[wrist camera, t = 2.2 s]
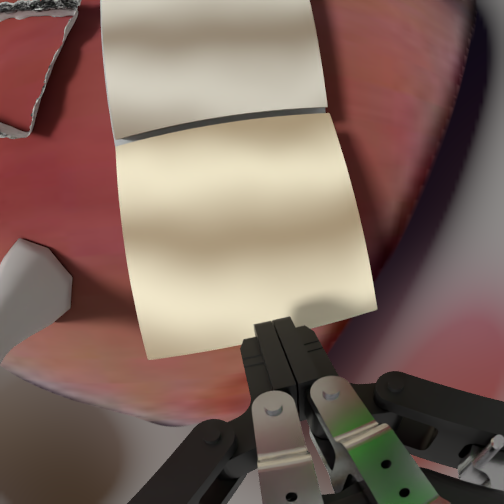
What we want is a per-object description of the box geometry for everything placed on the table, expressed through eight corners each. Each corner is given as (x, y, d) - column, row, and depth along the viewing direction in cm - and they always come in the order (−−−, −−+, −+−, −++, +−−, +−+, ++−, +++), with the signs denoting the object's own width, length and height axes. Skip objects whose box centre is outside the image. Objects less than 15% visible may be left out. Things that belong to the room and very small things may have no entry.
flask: (59, 333, 21) (19, 422, 12) (-4, 288, 18) (-62, 360, 9) (87, 273, 19) (33, 368, 10) (16, 220, 16) (-67, 283, 7)
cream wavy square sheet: (123, 156, 15) (115, 146, 14) (321, 124, 17) (329, 112, 15) (154, 352, 15) (148, 360, 13) (365, 306, 16) (377, 309, 14)
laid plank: (107, -15, 11) (101, -24, 9) (291, -37, 12) (297, -47, 10) (121, 139, 15) (115, 139, 14) (318, 108, 16) (327, 106, 15)
